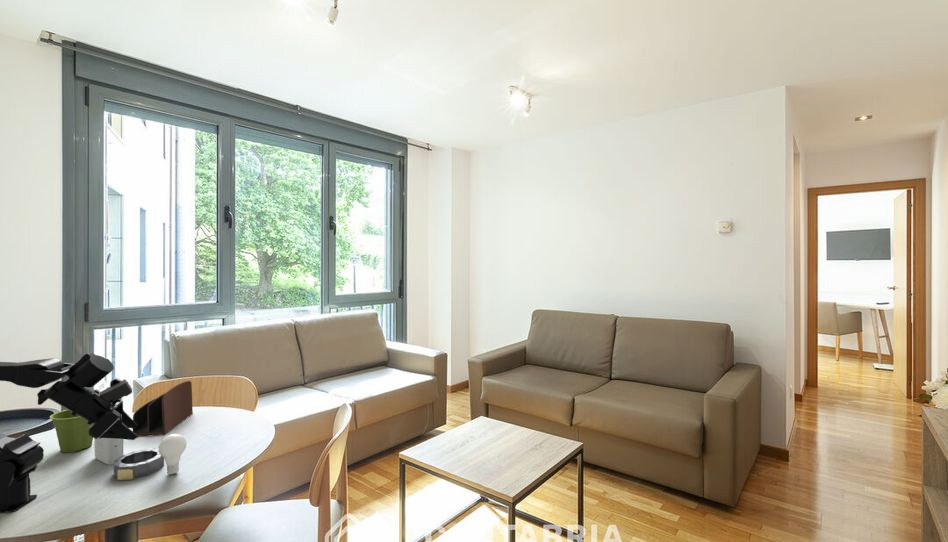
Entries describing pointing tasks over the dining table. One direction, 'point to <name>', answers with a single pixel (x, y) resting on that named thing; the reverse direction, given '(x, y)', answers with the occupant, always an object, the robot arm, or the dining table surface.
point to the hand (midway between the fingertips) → (135, 432)
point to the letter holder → (164, 411)
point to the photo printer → (108, 449)
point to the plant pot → (71, 431)
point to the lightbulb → (172, 451)
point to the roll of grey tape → (138, 464)
